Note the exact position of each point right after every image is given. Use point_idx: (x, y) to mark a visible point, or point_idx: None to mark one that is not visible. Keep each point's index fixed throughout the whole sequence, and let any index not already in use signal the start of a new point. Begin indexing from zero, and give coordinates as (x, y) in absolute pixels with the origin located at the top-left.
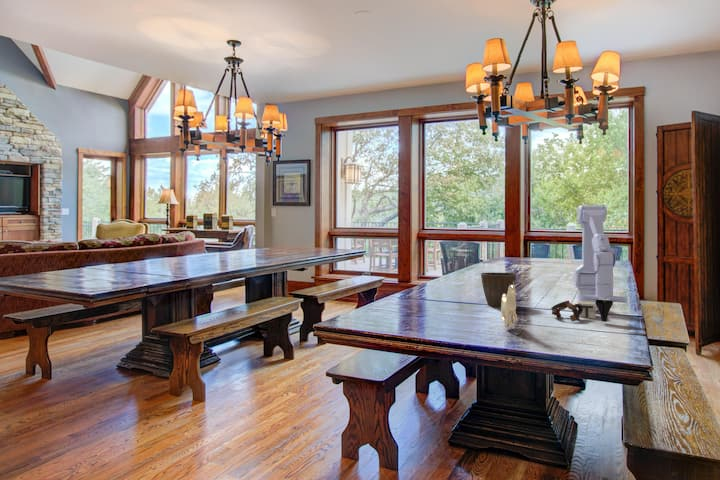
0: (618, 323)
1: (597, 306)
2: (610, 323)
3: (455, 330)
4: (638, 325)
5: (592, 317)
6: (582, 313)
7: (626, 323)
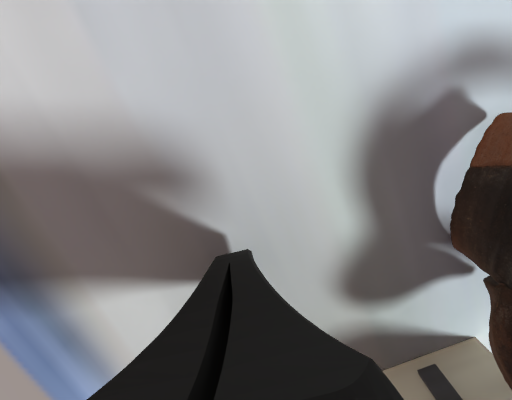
0: None
1: (325, 336)
2: None
3: None
4: (28, 374)
5: None
6: (481, 386)
7: None
